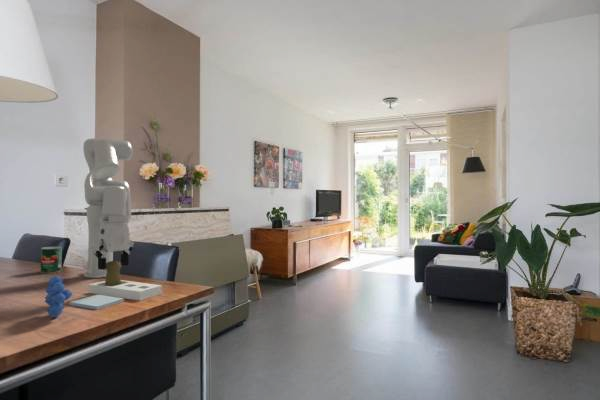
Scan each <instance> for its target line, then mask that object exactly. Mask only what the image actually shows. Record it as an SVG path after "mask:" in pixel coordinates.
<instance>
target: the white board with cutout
mask: <svg viewBox="0 0 600 400" xmlns="http://www.w3.org/2000/svg"><path fill="white" fill-rule="evenodd" d="M88 293H89V294H94V295H97V294H98V295H104V296H111V297H117V298H124V299H126V300H133V301H144V300H146V299H147V300H148V299H150V298H153V297H156V296H159V295H162V294H163V285H161V284H153V283H147V282H138V281H131V280H122V279H121V284H120V285H116V286H105V280H103V281H102V280H101V281H97V282H94V283H90V284H88Z"/></svg>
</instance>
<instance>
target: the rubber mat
mask: <svg viewBox="0 0 600 400" xmlns="http://www.w3.org/2000/svg"><path fill="white" fill-rule="evenodd" d="M123 302H125V298H119V297H113V296H106V295H100V294H94V295H91V296H87V297H82V298H80V299H75V300H72V301H69V306H73V307H78V308H79V307H80V308H84V309H89V310H96V311H98V310H101V309H105V308H107V307H111V306H114V305H117V304H120V303H123Z"/></svg>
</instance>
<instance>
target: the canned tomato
mask: <svg viewBox="0 0 600 400" xmlns="http://www.w3.org/2000/svg"><path fill="white" fill-rule="evenodd" d="M62 252H63V247H62V246H58V245H57V246H44V247H41V248H40V274H57V273H60V272H62V261H63V259H62V257H63V253H62ZM56 272H57V273H56Z"/></svg>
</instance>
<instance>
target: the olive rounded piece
mask: <svg viewBox="0 0 600 400" xmlns="http://www.w3.org/2000/svg"><path fill="white" fill-rule="evenodd" d="M121 269H122V265H121V261H119V260H113V261H110V262H107V263H106V270H107V274H106V277H105V280H104V281H105V286H116V285H120V284H121V280H122V279H121V271H120V270H121Z"/></svg>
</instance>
